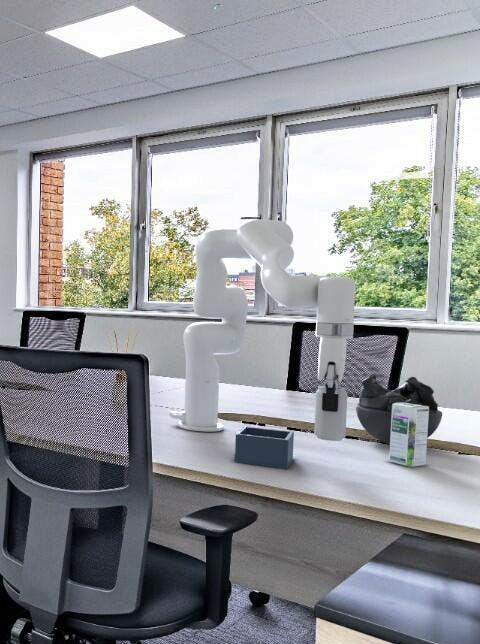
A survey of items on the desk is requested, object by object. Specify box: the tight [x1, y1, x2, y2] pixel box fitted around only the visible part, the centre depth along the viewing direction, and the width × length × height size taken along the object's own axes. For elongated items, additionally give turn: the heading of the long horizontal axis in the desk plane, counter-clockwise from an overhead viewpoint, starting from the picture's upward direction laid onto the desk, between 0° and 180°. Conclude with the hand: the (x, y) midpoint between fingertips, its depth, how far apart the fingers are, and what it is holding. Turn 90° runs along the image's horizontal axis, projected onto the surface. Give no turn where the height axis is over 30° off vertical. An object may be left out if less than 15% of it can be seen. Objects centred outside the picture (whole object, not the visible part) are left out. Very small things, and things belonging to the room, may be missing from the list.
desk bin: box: [234, 425, 295, 470], centre depth 169 cm, size 12×12×7 cm
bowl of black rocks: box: [355, 373, 443, 445], centre depth 189 cm, size 20×20×19 cm
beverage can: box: [313, 385, 348, 442], centre depth 160 cm, size 6×6×12 cm
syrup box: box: [388, 403, 429, 468], centre depth 168 cm, size 6×6×14 cm
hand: (330, 408), depth 160 cm, fingers closed on beverage can, 6 cm apart
